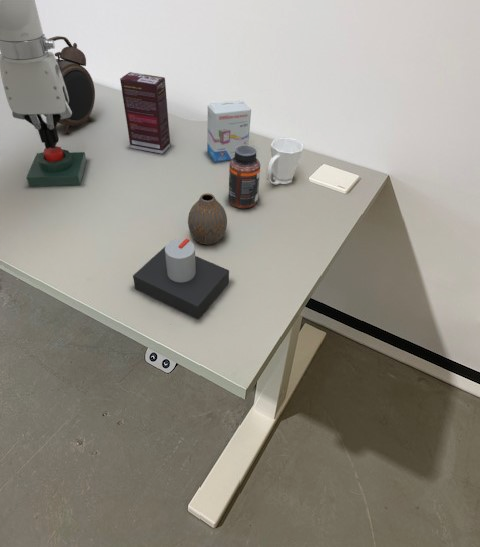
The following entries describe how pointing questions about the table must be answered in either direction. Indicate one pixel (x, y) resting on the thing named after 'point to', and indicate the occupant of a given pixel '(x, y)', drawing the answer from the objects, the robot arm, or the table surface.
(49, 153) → the lid button
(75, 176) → the green button base
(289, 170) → the cup
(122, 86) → the supplement box
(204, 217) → the vase
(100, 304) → the table surface
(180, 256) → the dial
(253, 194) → the supplement bottle
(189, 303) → the dial panel
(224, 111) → the ink box
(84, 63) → the alarm clock
